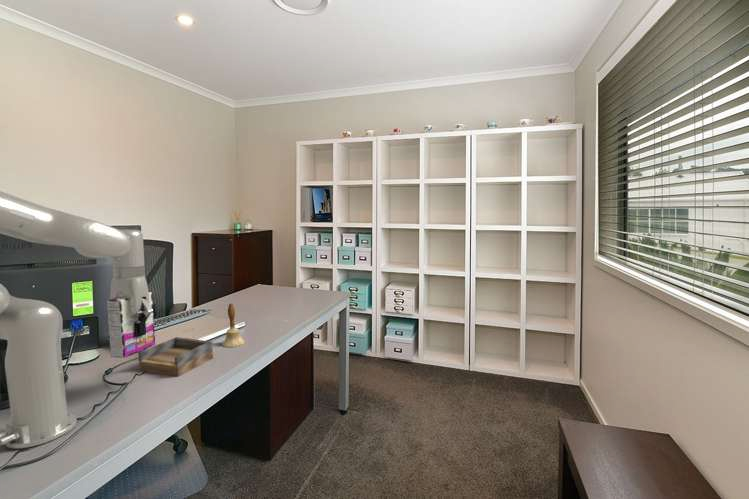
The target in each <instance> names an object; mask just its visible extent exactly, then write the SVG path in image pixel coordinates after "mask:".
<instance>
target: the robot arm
mask: <svg viewBox="0 0 749 499" xmlns="http://www.w3.org/2000/svg"><path fill="white" fill-rule="evenodd" d="M0 234H1V235H5V236H8V237H12V238H15V239H20V240H23V241H26V242H30V243H36V244H41V245H51V246H62V247H69V248H74V250H75V252H77V253H79V255H81V256H84V257H86V258H91V259H92V258H95V259H112V275H113V276H112V279H111V284H110V291H109V299H113V298H128V302H129V313H130V314H134V318H135V322H136V323H134V333H135V337H139V336H142V335H145V334H146V321H147V318H148V317H149V315H150V314H151V313H152V312H153V313H154V309H153V310H152V308H151V307H150V305H149V287H148V286H149V285H148V282H147V278H146V271H145V267H146V266H145V250H144V248H145V247H144V235H143V232H142V231H141V230H139V229H118V228H116V227H114V226H111V225H108V224H105V223H102V222H100V221H97V220H93V219H89V218H85V217H82V216H78V215H75V214H71V213H68V212H65V211H61V210H56V209H53V208H50V207H47V206H44V205H41V204H38V203H35V202H32V201H29V200H26V199H23V198H20V197H18V196H15V195H12V194H10V193H7V192H4V191H1V190H0ZM140 313H141V316H140V317H139V315H138V314H140ZM62 316H63V315H62V313H61V312H60V310H59V309H58V308H57V307H56V306H55V305H53V304H52V303H50V302H47V301H43V300H38V299H37V300H36V299H31V298H19V297H16V296H13V295H11V294H10V293H9V290H8V289H7V288H6V287H5V286H4V285H3V284H2V283H0V339H1V340H6V341H7V347H6V351H5V357H4V368H5V369H4V370H5V377H6V386H7V393H8V402H9V410H10V417H11V421H9V422H6V423H5V427H6V428H3V429H1V432H0V446H3V445H4V446H6V448H8V449H16V450H17V449H26V448H33V447H36V446H40V445H42V444H45V443H49V442H51V441H53V440H56V439H58V438H60V437H61V436H64V435H65V434H67V433H68V432H70V431H71V430H72V429H73V428H74V427H76V425H77V416H76V415H75V414H74V413H73V414H72V413H71V412H69V413H68V406H67V399H66V398H67V395H66V386H65V378H64V368H63V361H62V360H63V358H62V347H61V346H62V344H61V343H62V332H63V323H64V322H63V317H62Z"/></svg>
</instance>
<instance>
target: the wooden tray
mask: <svg viewBox="0 0 749 499" xmlns="http://www.w3.org/2000/svg"><path fill="white" fill-rule="evenodd" d="M213 358H214V351H213V341H210V340H202V339H194V338H193V339H192V338H185V337H178V336H176V337H174V338H171V339H169V340H165V341H163V342H161V343H159V344H157V345H156V344H155V345H154V346H151V347H149V348H147V349H144V350H142V351H140V352H138V360H139V361H138V362H139V370H140V371H143V372H150V373H154V374H155V373H156V374H162V375H168V376H172V377H173V376H174V377H181V376H182V375H184V374H186V373H188V372H190V371H191V370H194V369H195V368H196V367H199V366H201V365H202V364H205V363H206V362H209V361H210V360H212V359H213Z"/></svg>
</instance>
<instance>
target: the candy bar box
mask: <svg viewBox="0 0 749 499" xmlns="http://www.w3.org/2000/svg"><path fill="white" fill-rule="evenodd" d="M148 292H149V291H148ZM153 303H154V302H153V293H152V292H149V305H150V307H151V308H152V310H153V312H152V313H151V314H150V315H149V317H148V318H147V321H146V334H145V335H142V336H139V337H135V333H134V323H136V322H135V318H134V314H130V313H129V302H128V298H113V299H110V298H108V299H106V309H107V321H108V322H107V324H108V334H109V349H110V357H111V358H119V359H121V358H122V359H125V358H128V357H130V356H132V355H135V354H137V353H139V352H141V351H143V350H146V349H148V348H151V347H153V346H156V336H155V321H154V320H155V319H154V306H153ZM138 315H139V317H140V316H141V313H140V314H138Z"/></svg>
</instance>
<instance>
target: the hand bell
mask: <svg viewBox="0 0 749 499" xmlns="http://www.w3.org/2000/svg"><path fill="white" fill-rule="evenodd" d="M235 309H236V308H235V307H234V305H233V303H229V304H228V308H227V315H228V318H229V329H227V330H226V336H225V338H224V339H225V340H224V341H223V342H222V343H221V346H222V347H223V348H235V347H240V346H242V345H244V344H245V342H246V341H245V339H243V338H242V337H241V334H240V330H239V329H238V328H236V324H235V317H236V310H235Z"/></svg>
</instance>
